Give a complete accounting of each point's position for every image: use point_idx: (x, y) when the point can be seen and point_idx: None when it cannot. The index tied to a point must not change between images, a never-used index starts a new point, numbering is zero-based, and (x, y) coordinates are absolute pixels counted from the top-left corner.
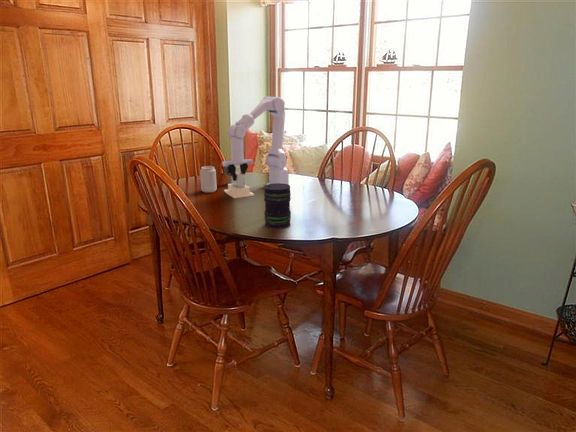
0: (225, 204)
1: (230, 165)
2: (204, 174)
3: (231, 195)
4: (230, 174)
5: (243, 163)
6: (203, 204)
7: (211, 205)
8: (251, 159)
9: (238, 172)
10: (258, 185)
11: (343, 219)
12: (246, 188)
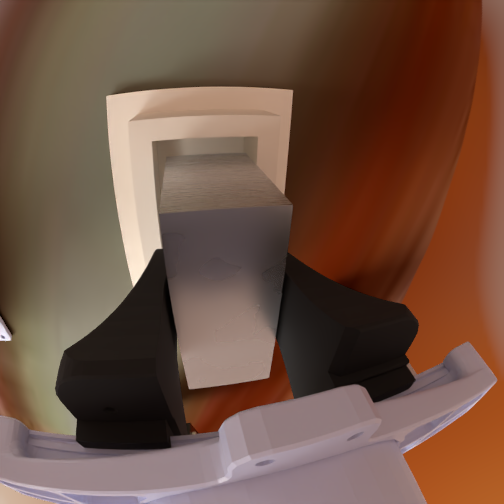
0: (387, 2)
1: (399, 378)
2: (408, 364)
3: (286, 146)
4: (191, 430)
5: (146, 450)
6: (458, 87)
7: (442, 43)
8: (9, 485)
9: (213, 341)
10: (49, 342)
11: None
12: (166, 116)
